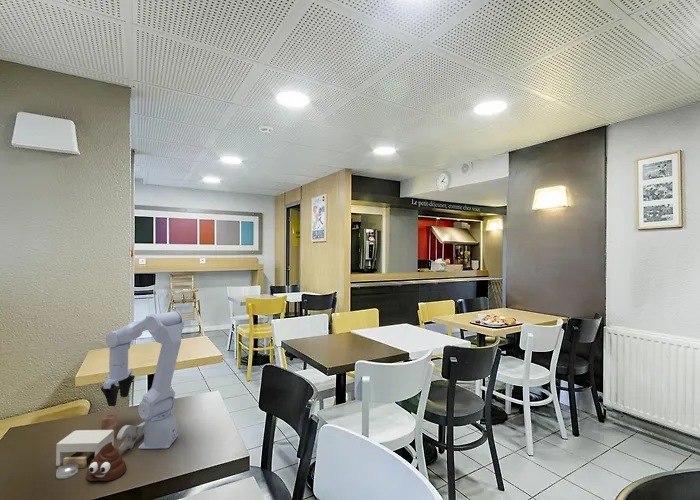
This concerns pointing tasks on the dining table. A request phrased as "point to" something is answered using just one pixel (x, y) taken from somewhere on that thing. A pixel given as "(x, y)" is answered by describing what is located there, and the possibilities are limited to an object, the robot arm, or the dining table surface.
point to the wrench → (130, 435)
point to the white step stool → (83, 443)
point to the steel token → (67, 470)
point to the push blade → (107, 424)
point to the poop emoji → (106, 465)
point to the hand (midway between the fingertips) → (118, 401)
